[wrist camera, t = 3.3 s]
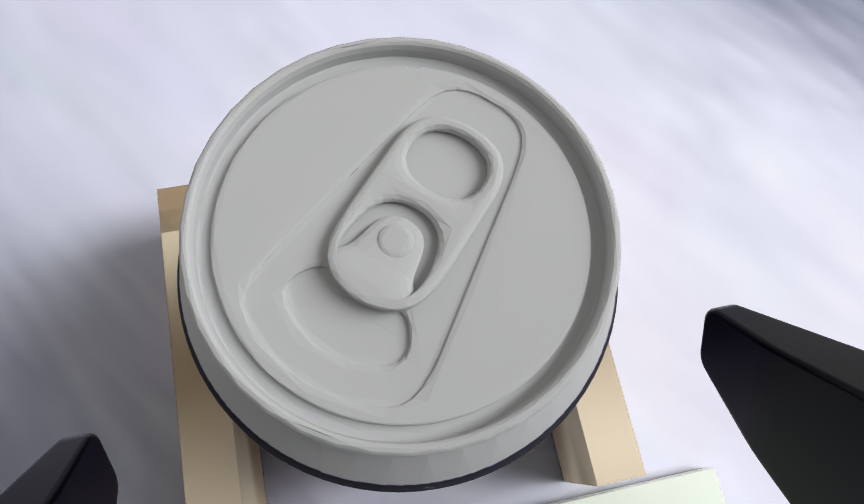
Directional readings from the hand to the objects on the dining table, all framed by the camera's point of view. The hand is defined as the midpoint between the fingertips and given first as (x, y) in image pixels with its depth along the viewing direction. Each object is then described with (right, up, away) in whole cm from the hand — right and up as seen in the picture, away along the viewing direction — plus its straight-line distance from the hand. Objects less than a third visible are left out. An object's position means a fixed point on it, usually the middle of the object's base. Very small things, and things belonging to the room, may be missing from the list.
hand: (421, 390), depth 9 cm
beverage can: (-1, -1, +9) cm, 9 cm away
